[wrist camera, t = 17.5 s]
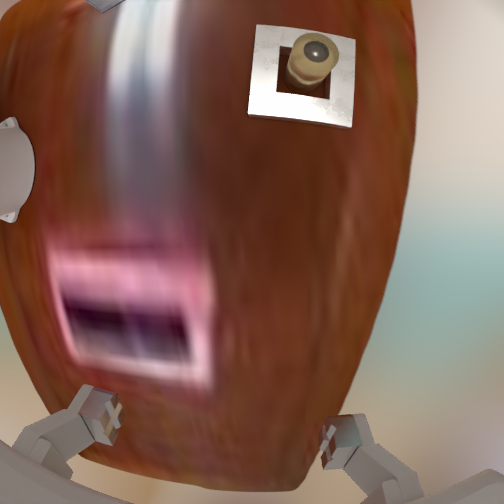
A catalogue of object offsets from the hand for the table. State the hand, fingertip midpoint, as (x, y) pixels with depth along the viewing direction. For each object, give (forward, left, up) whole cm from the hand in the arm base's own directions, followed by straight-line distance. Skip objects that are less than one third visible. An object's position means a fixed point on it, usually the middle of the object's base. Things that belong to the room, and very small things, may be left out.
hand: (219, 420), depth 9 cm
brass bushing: (+5, +20, -29) cm, 36 cm away
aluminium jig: (+5, +20, -29) cm, 36 cm away
